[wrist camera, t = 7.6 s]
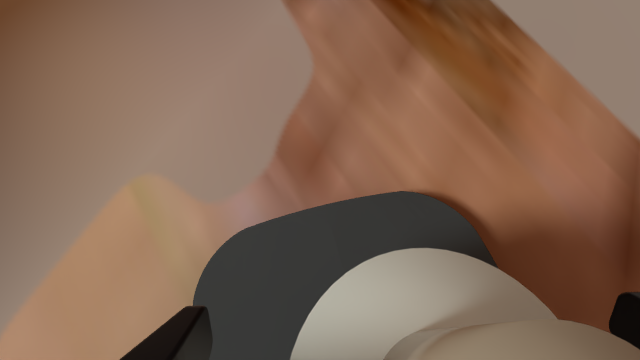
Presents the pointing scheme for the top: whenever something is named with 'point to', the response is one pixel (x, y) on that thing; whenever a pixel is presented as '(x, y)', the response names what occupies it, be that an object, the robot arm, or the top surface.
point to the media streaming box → (313, 265)
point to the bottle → (443, 316)
